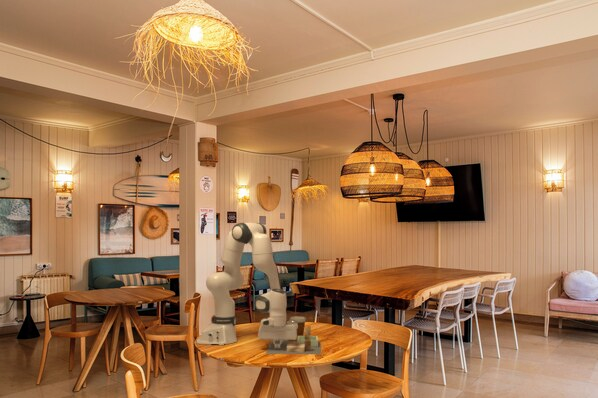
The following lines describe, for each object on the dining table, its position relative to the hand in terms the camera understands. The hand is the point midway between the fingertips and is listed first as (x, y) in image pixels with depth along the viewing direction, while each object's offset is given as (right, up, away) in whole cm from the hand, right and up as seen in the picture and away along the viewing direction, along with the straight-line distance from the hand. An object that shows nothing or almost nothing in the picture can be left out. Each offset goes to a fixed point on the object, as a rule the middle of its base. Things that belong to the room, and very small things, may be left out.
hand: (277, 347), depth 239 cm
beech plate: (+10, -1, -1) cm, 10 cm away
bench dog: (+16, -1, -1) cm, 16 cm away
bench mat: (+9, -2, +5) cm, 10 cm away
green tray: (+16, -2, +11) cm, 19 cm away
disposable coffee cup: (+10, -4, +28) cm, 30 cm away
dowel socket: (+2, -2, +11) cm, 12 cm away
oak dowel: (+16, -1, +11) cm, 19 cm away
